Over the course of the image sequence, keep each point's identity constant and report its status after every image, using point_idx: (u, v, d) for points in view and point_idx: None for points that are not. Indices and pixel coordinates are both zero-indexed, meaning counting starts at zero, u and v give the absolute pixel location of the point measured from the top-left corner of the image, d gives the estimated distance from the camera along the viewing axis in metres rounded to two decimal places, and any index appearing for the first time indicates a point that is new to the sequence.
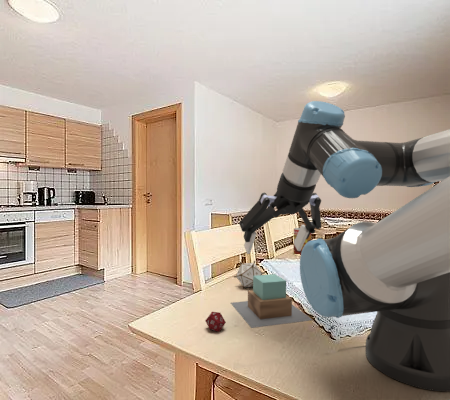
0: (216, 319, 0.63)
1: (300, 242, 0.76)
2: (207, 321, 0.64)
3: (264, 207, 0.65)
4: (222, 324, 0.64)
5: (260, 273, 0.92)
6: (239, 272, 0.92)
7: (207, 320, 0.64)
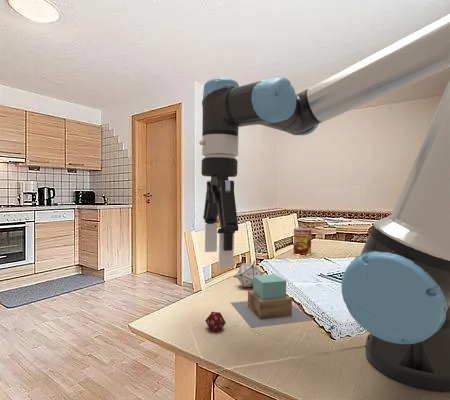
0: (216, 319, 0.63)
1: (215, 240, 0.71)
2: (207, 321, 0.64)
3: None
4: (222, 324, 0.64)
5: (260, 273, 0.92)
6: (239, 272, 0.92)
7: (207, 320, 0.64)
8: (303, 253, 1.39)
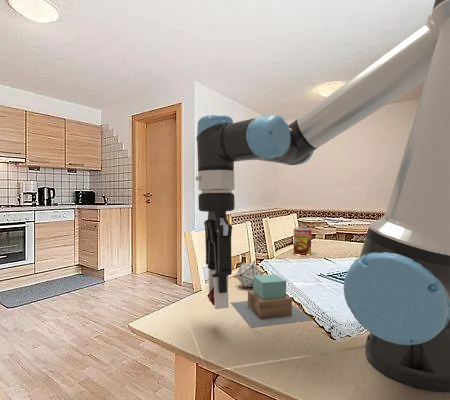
0: None
1: None
2: (209, 295, 0.64)
3: None
4: None
5: (260, 273, 0.92)
6: (239, 272, 0.92)
7: (209, 294, 0.64)
8: (303, 253, 1.39)
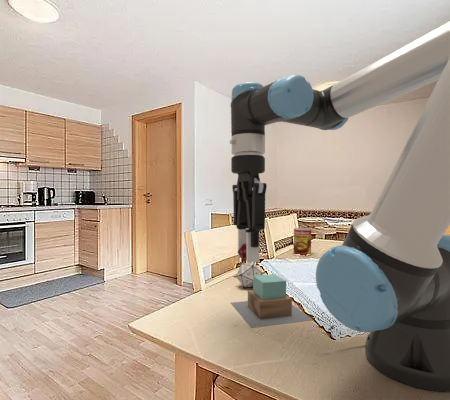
0: None
1: None
2: (240, 251, 0.69)
3: None
4: None
5: (260, 273, 0.92)
6: (239, 272, 0.92)
7: (240, 250, 0.69)
8: (303, 253, 1.39)
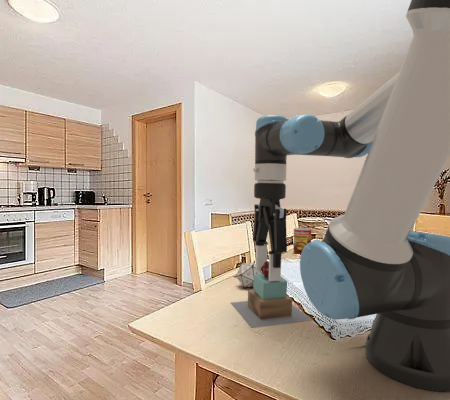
0: None
1: (265, 260, 0.79)
2: (263, 269, 0.73)
3: None
4: None
5: (260, 273, 0.92)
6: (239, 272, 0.92)
7: (262, 268, 0.73)
8: None
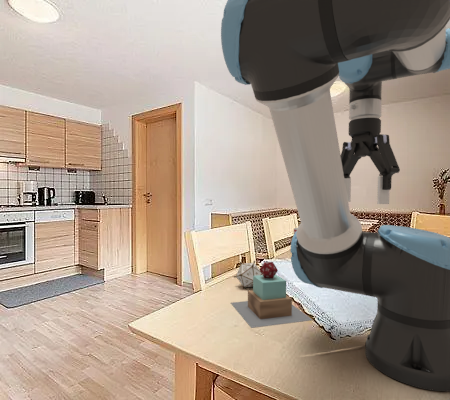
0: (270, 267, 0.73)
1: (349, 192, 0.85)
2: (262, 269, 0.74)
3: None
4: (275, 271, 0.74)
5: (260, 273, 0.92)
6: (239, 272, 0.92)
7: (262, 268, 0.74)
8: None
